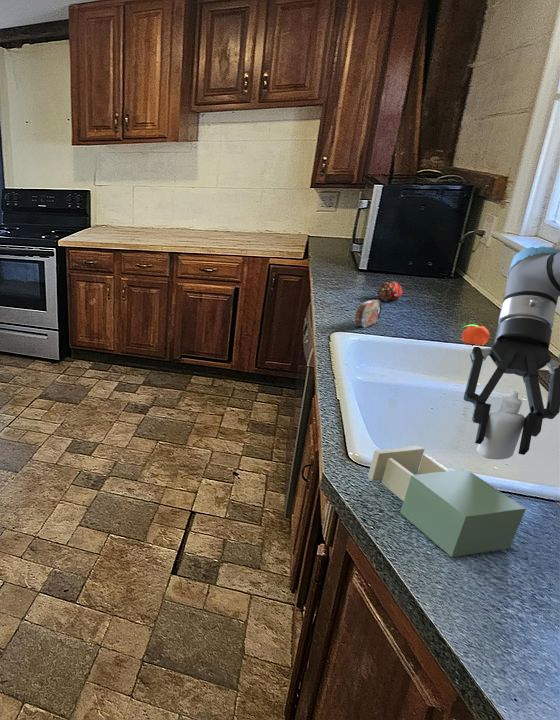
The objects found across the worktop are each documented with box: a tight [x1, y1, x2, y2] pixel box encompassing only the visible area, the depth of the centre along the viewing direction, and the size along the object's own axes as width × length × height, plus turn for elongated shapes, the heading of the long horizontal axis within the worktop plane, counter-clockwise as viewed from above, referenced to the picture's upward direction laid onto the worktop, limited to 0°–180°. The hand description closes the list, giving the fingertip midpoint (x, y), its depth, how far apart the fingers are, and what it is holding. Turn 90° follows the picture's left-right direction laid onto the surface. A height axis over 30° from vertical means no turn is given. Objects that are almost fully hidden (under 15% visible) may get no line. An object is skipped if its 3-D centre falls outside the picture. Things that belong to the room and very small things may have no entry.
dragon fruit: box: [376, 281, 404, 302], centre depth 214 cm, size 8×8×12 cm
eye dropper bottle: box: [476, 390, 526, 460], centre depth 89 cm, size 4×6×12 cm
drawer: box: [367, 445, 451, 502], centre depth 95 cm, size 11×10×6 cm
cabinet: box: [399, 468, 527, 558], centre depth 85 cm, size 11×11×8 cm
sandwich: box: [354, 299, 382, 329], centre depth 184 cm, size 15×3×8 cm, turn 129°
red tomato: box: [459, 324, 490, 346], centre depth 166 cm, size 8×7×7 cm
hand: (501, 446), depth 87 cm, fingers closed on eye dropper bottle, 5 cm apart
